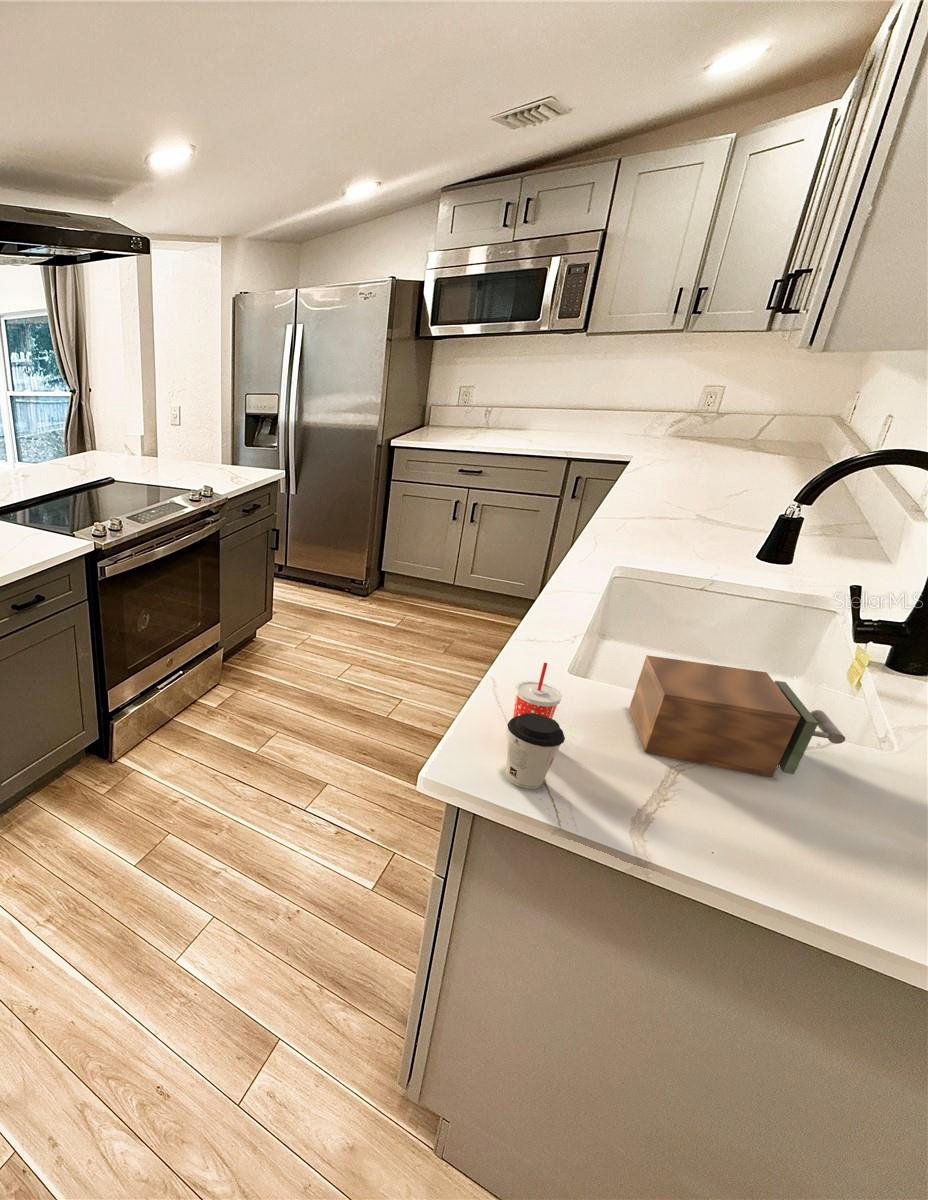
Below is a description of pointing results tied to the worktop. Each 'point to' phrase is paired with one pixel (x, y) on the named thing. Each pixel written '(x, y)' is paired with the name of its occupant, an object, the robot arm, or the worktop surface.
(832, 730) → the drawer
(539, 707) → the beverage cup
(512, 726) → the coffee cup
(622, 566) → the worktop surface
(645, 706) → the cabinet
